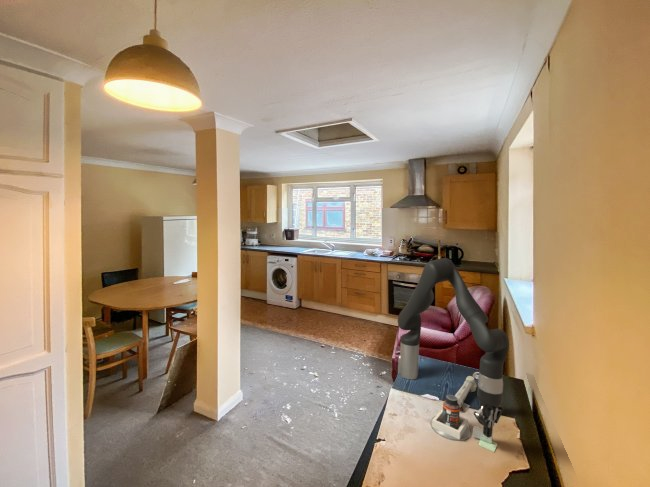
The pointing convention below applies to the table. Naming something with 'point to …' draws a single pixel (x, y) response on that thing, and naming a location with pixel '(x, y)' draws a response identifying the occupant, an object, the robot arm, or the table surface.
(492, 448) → the plate
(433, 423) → the socket
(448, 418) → the supplement bottle
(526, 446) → the table surface
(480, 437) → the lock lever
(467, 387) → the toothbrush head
